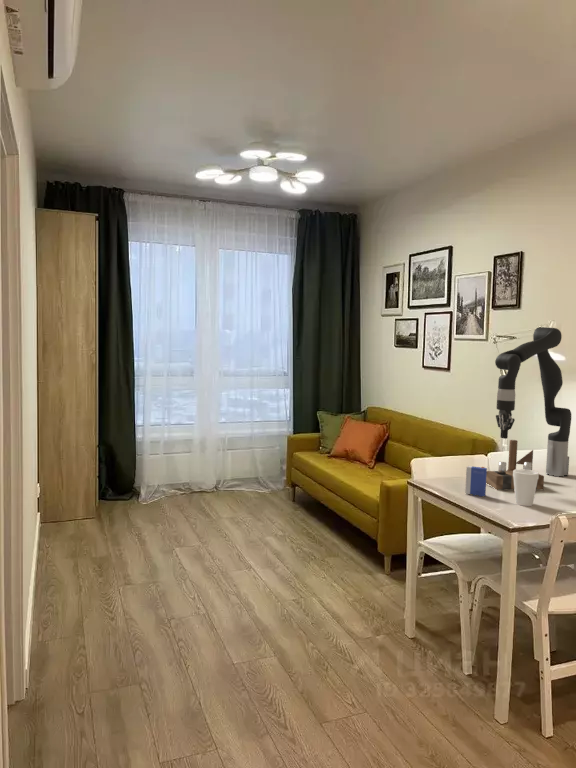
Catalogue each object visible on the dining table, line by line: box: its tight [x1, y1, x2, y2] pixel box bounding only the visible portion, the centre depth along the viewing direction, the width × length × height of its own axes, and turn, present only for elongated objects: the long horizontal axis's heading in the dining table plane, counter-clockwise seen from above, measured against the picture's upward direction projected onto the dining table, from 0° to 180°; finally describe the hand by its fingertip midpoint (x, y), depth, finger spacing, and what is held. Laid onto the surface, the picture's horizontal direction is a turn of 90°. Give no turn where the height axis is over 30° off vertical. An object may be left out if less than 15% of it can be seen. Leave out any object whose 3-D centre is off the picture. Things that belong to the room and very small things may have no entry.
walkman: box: [464, 465, 488, 497], centre depth 247 cm, size 8×3×12 cm, turn 62°
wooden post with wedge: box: [506, 439, 534, 471], centre depth 280 cm, size 4×11×18 cm, turn 60°
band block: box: [486, 470, 545, 490], centre depth 263 cm, size 22×10×6 cm, turn 97°
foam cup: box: [513, 468, 540, 507], centre depth 235 cm, size 10×9×13 cm
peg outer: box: [497, 461, 507, 475], centre depth 262 cm, size 3×3×6 cm
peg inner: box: [524, 462, 533, 471], centre depth 263 cm, size 3×3×6 cm
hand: (503, 438), depth 261 cm, fingers closed
